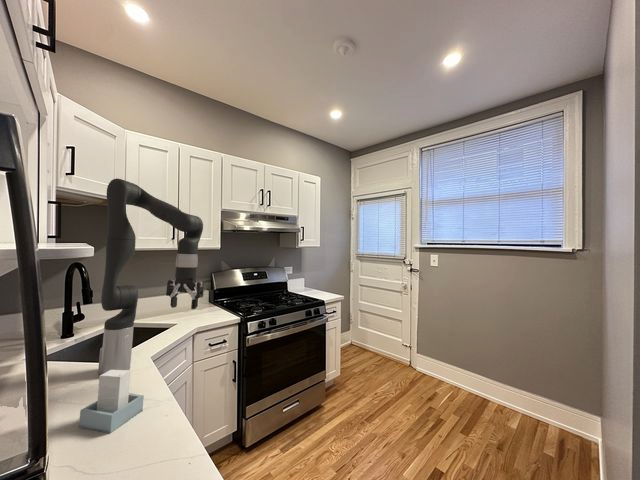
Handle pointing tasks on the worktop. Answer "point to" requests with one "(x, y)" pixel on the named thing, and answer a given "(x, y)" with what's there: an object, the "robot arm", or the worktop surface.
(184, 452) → the worktop surface
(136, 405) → the tray
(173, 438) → the worktop surface
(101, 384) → the skincare box
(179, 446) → the worktop surface
